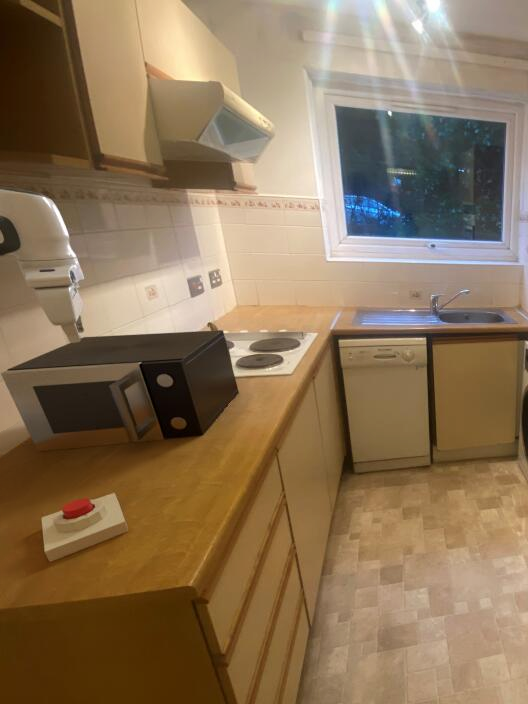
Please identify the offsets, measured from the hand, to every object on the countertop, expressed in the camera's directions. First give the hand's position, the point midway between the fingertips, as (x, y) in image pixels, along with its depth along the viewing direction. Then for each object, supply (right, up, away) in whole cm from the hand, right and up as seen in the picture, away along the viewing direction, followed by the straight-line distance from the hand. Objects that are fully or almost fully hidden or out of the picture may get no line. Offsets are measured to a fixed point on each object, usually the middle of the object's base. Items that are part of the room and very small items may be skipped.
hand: (77, 336), depth 96 cm
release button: (+20, -33, -20) cm, 44 cm away
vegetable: (+3, -10, +47) cm, 48 cm away
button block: (+20, -36, -19) cm, 46 cm away
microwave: (-1, -20, +21) cm, 29 cm away
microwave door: (-1, -26, +6) cm, 27 cm away
